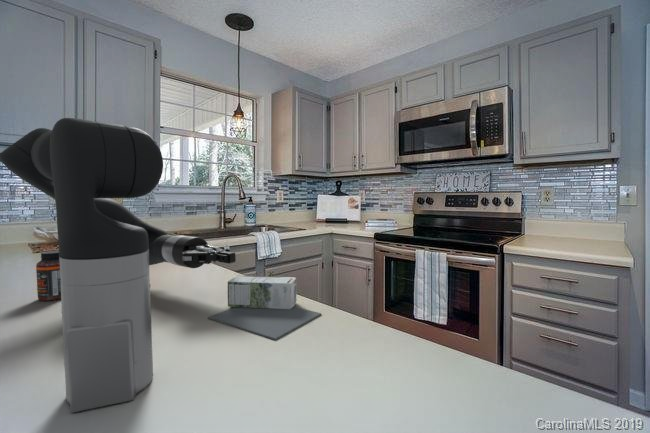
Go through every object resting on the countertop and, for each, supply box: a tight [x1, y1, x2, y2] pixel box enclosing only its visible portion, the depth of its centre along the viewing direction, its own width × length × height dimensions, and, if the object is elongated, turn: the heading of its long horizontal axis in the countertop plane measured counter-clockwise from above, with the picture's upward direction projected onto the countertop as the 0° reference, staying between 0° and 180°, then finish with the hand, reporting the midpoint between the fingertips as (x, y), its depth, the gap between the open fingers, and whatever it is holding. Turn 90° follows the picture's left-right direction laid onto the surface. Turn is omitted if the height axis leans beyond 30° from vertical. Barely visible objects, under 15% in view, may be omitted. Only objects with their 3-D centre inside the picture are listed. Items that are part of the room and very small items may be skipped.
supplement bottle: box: [35, 250, 61, 302], centre depth 77 cm, size 6×6×11 cm
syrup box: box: [227, 275, 297, 309], centre depth 71 cm, size 6×6×14 cm
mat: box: [207, 306, 322, 341], centre depth 65 cm, size 18×14×1 cm
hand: (232, 258), depth 69 cm, fingers closed
